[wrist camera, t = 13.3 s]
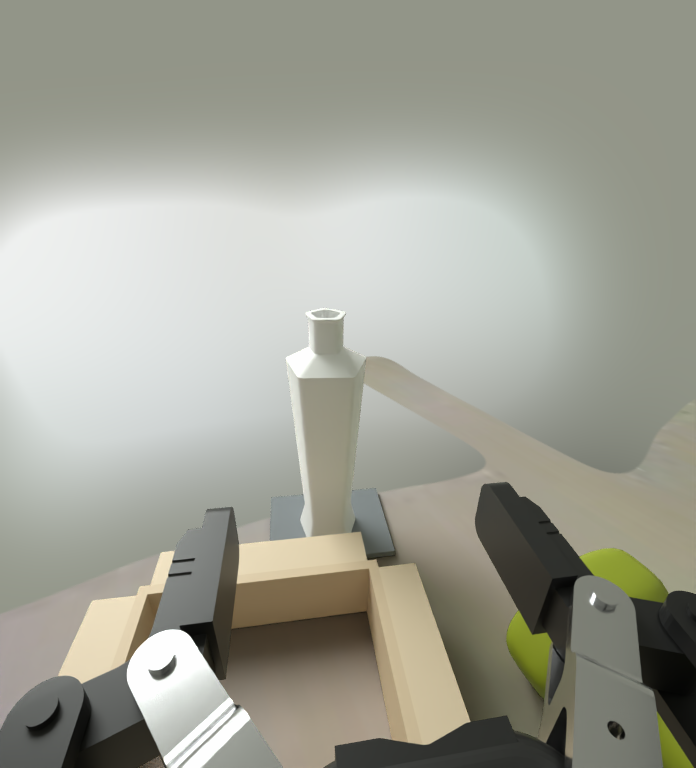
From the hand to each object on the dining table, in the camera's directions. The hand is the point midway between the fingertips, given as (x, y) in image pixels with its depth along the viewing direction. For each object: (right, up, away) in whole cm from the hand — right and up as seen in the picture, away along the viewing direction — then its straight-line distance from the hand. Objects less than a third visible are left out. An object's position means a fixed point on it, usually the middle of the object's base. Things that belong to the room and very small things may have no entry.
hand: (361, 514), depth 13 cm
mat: (-2, -6, +15) cm, 16 cm away
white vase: (-2, -6, +15) cm, 16 cm away
